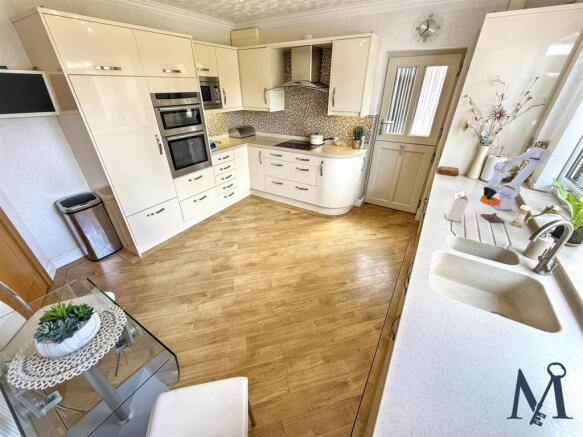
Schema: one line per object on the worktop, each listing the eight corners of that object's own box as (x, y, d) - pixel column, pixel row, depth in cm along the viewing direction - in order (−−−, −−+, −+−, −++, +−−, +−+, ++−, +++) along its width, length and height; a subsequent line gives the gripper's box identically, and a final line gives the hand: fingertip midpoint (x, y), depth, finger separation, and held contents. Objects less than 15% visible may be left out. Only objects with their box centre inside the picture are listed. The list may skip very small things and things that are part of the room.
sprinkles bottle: (520, 225, 150) (532, 206, 143) (518, 227, 147) (530, 208, 141) (512, 222, 153) (523, 203, 146) (509, 224, 151) (520, 205, 144)
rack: (494, 216, 159) (497, 210, 157) (503, 222, 152) (507, 217, 149) (480, 215, 159) (483, 210, 157) (490, 222, 152) (493, 216, 150)
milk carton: (457, 217, 156) (470, 191, 146) (459, 222, 150) (472, 195, 141) (445, 214, 158) (457, 188, 149) (446, 219, 153) (458, 192, 143)
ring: (491, 199, 166) (493, 196, 164) (502, 206, 157) (504, 202, 155) (476, 198, 166) (478, 195, 165) (486, 205, 157) (488, 201, 155)
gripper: (482, 176, 164) (474, 193, 170) (497, 183, 151) (487, 202, 158) (492, 176, 163) (483, 194, 170) (508, 184, 151) (498, 203, 158)
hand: (486, 198), depth 164 cm, fingers closed on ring, 3 cm apart
